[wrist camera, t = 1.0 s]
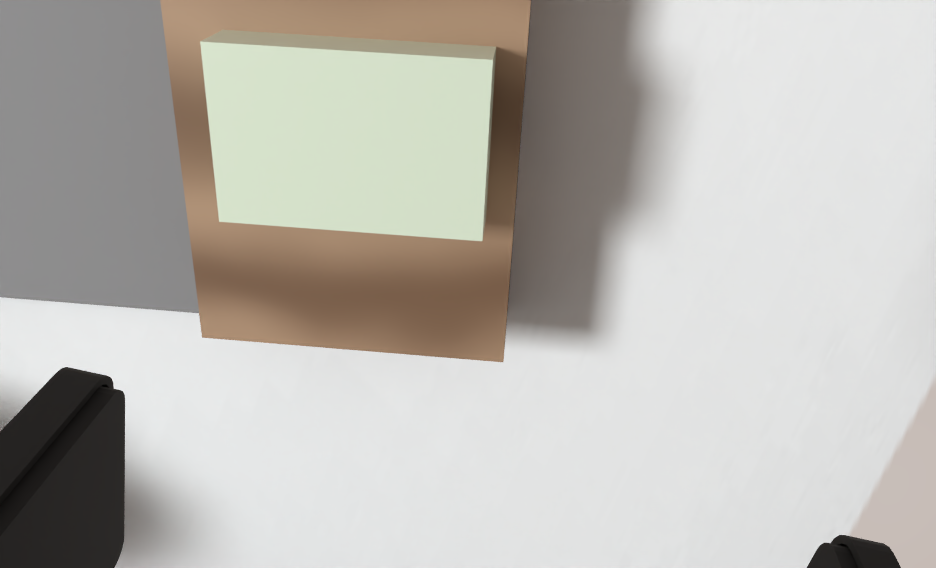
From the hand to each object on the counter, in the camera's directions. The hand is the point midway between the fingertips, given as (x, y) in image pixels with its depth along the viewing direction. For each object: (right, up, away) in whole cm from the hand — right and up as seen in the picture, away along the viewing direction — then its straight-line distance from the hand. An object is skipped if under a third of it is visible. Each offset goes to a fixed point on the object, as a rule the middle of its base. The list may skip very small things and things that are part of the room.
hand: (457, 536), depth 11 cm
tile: (-4, +9, +17) cm, 19 cm away
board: (-4, +11, +21) cm, 23 cm away
